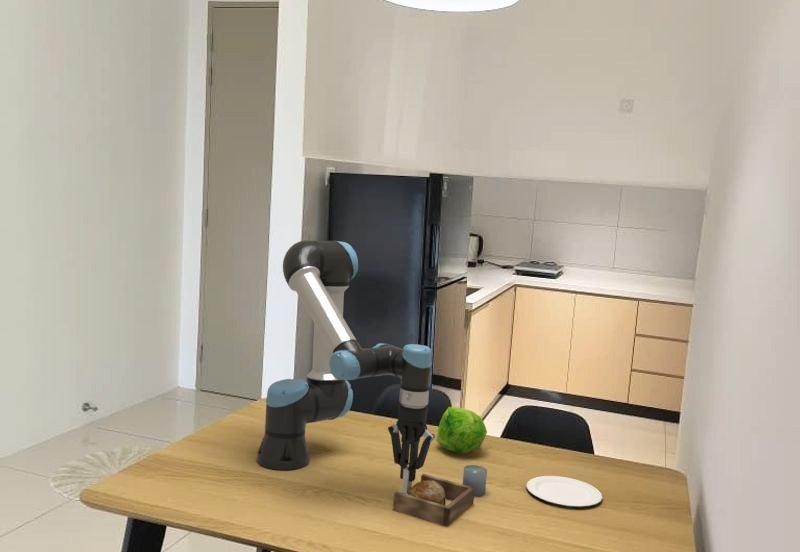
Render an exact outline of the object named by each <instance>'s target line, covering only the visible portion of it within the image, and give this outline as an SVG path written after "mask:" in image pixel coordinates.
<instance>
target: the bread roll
mask: <svg viewBox="0 0 800 552" xmlns="http://www.w3.org/2000/svg"><path fill="white" fill-rule="evenodd" d="M407 495H411V496H414V497H417V498H421V499H424V500H428V501H431V502H435V503H438V504H441V505H445V503H446V500H447V499H446V495H445V491H444V489H443V488H442V486H441V485H440V484H438V483H436V482H435V481H429V480H425V481H421V480H420V481H419V482H416V483H414V485H412V488H411V489H410V490H408V491H407ZM445 506H446V505H445Z"/></svg>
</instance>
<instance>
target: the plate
mask: <svg viewBox="0 0 800 552" xmlns="http://www.w3.org/2000/svg"><path fill="white" fill-rule="evenodd" d="M526 489H527V491H528V492H529V493H530V494H531V495H532V496H533V497H536V498H538V499H539V500H542V501H545V502H547V503H550V504H554V505H557V506H562V507H568V508H569V507H571V508H586V507H588V508H589V507H592V506H596V505H597V504H599V503H601V502H602V500H603V495H602V493H601V492H600V491H599V489H597V488H596V487H594V486H593V485H591V484H589V483H587V482H585V481H583V480H582V481H581V480H579V479H575V478H571V477H565V476H557V475H542V476H538V477H534V478H531V479H529V480H528V481H527V483H526Z"/></svg>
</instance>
